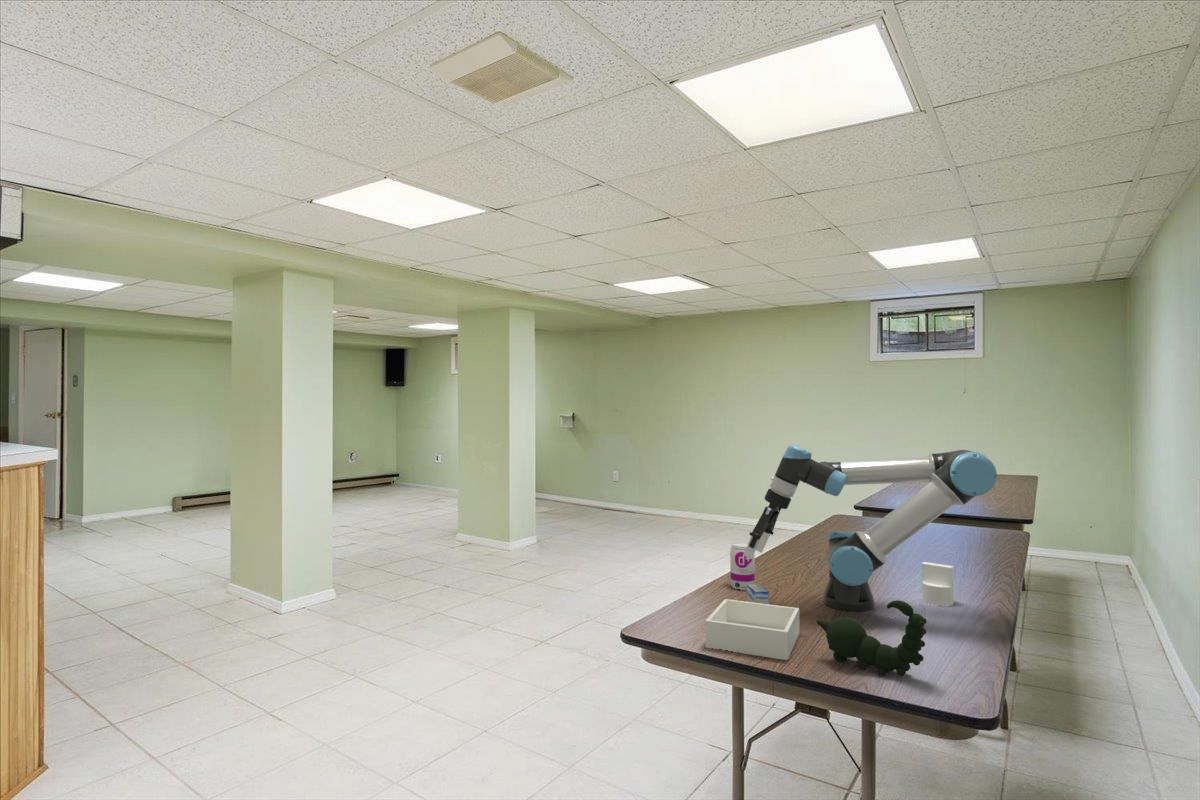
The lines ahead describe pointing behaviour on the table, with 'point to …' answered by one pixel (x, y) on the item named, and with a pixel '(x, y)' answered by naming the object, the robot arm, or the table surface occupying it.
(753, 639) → the open bin
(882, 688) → the table surface
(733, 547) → the supplement can
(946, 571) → the cylinder with rectangular tab
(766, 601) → the medicine box
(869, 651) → the toy figurine
